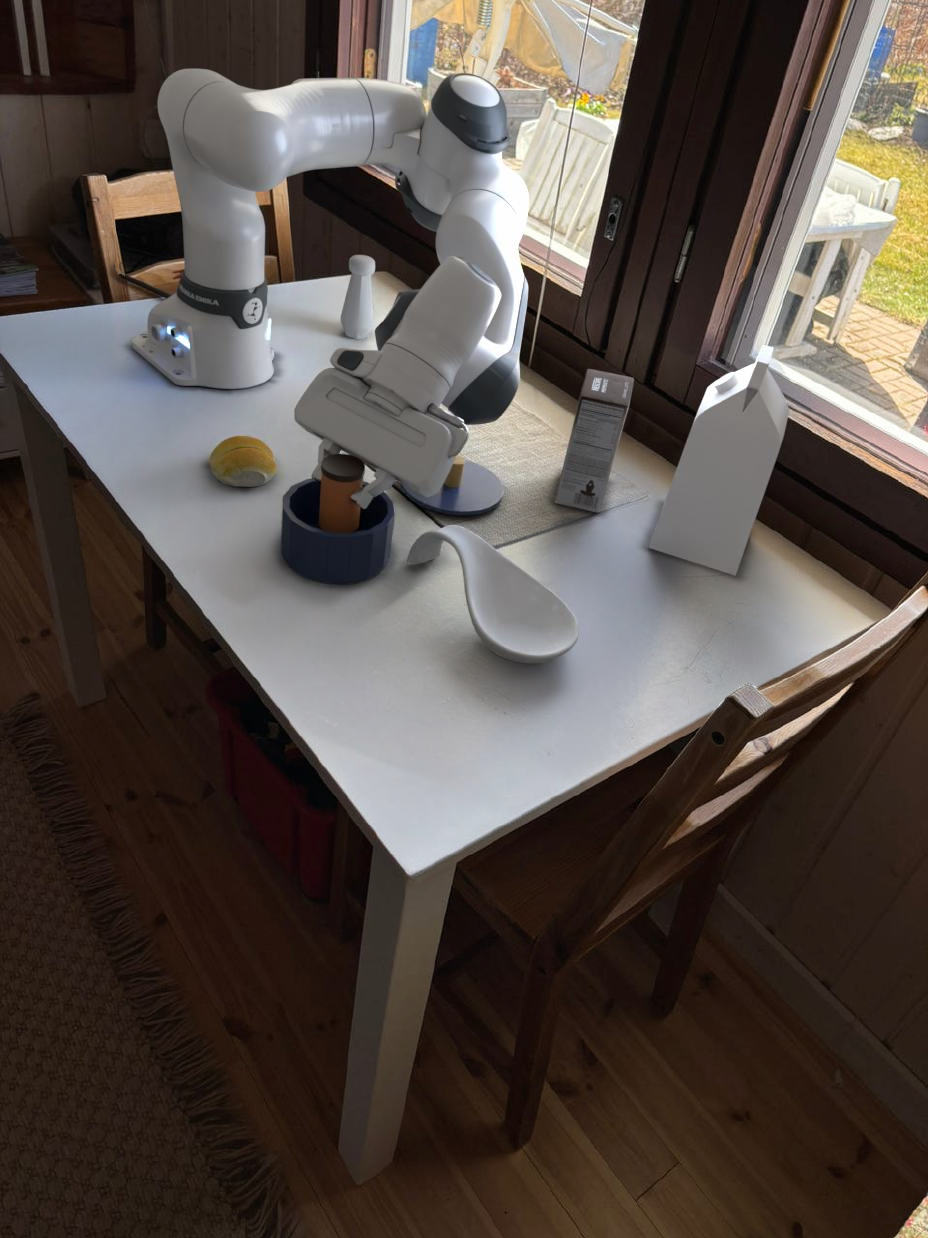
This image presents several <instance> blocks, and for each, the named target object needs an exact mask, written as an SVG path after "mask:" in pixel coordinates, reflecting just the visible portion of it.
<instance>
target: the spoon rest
mask: <svg viewBox="0 0 928 1238" xmlns="http://www.w3.org/2000/svg"><path fill="white" fill-rule="evenodd" d="M443 542H446V543H447V544H449V545H450V546H451V547H452V548H453V549H454V550H455V552H456V554H457V555H458V558H459V561H460V564H461V569H462V577H463V585H464V595H465V601H466V605H467V610H468V614H469V617H470V620H471V623H472V626H473V629H474V631H475V632H476V635H477V636H478V638H479V640H480V641H481V642H482V643H483V644H484V645H485V646H486V648H488V649H489V650H490V651H491V652H493V654H494V653H495V654H496V655H498V656H499V657H501V658H503V659H505V660H508V661H512V662H515V663H520V664H541V663H546V662H550V661H552V660H555V659H557V658H559V657H562V656H563V655H565V654H566V653H568V652H569V651H570V650H571V649H572V648H573V647H574V646H575V645H576V643H577V641H578V639H579V636H580V627H579V623H578V620H577V618H576V615H575V614H574V612H573V611H572V610H571V608H570V607H569V606H568V604H567V603H566V602H565V601H564V600H563V599H562V598H561V597H560V596H559V595H557V593H555V592H554V591H553V590H551V589H550V588H549V587H547V586H546V585H545V584H543V583H542V582H541V581H540V580H538V579H536V577H534V576H532V575H531V574H530V573H528V572H527V571H525V570H524V569H523V568H521V567H520V565H517V563H515V562H513V561H512V560H511V559H509V558H508V557H507V556H505V555H504V554H503V553H501V552H500V551H499V550H498V549H497V548H496V547H494V546H492V545H491V544H490V543H489V542H487V541H486V540H484V539H483V538H482V537H480V536H479V535H478V534H476V533H475V532H473V531H471V530H470V529H468V528H466V527H463V526H460V525H455V524H448V525H445V526H443V527H441V528H439V529H437V530H429V531H425V532H424V533H422V534H420V535H419V537H417V538H416V539H415V541H414V542H413V543H412V545H411V546H410V549H409V550H408V555H407V558H406V562H407V564H409V565H418V564H423V563H425V562H428V561H430V560H434V559H437V558H438V557H439V556H440V554H441V550H442V546H443Z"/></svg>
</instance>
